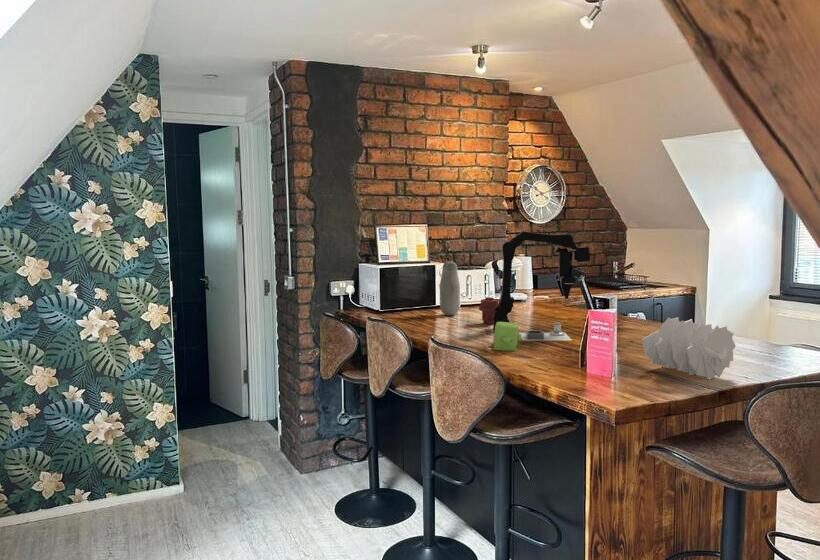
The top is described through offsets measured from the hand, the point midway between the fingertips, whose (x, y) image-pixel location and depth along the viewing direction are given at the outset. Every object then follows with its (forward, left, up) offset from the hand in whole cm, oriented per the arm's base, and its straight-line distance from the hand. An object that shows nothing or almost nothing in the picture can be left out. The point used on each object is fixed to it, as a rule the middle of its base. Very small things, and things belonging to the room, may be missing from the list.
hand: (564, 297), depth 289 cm
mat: (-11, -19, -15) cm, 26 cm away
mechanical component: (-32, +17, -15) cm, 40 cm away
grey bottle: (-51, +42, -15) cm, 68 cm away
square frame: (-16, -22, -14) cm, 31 cm away
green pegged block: (-28, -40, -15) cm, 51 cm away
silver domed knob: (-5, -14, -14) cm, 21 cm away
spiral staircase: (+27, -78, -15) cm, 84 cm away
